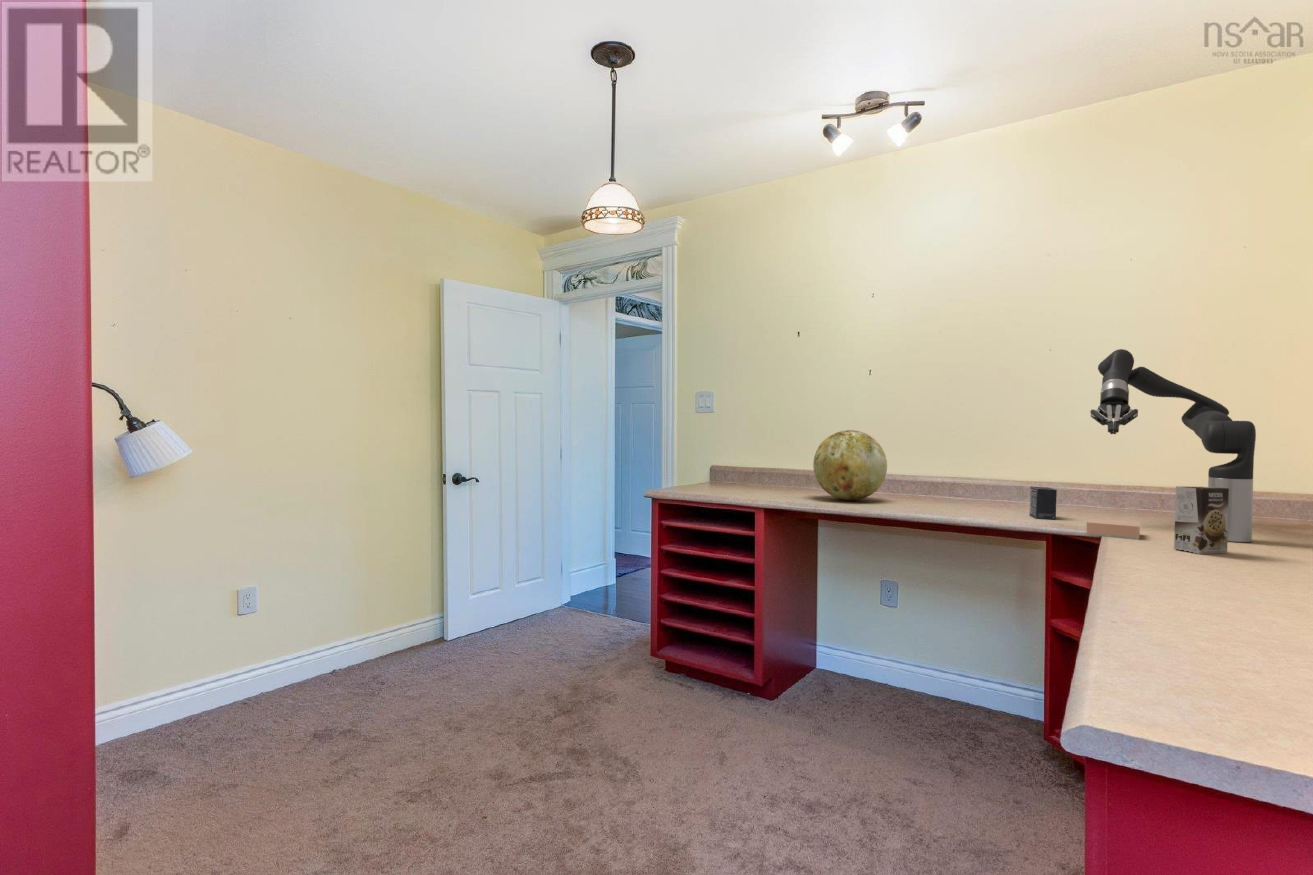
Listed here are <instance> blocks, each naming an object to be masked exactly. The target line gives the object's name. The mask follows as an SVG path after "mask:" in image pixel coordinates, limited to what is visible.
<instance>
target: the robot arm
mask: <svg viewBox="0 0 1313 875" xmlns="http://www.w3.org/2000/svg"><path fill="white" fill-rule="evenodd" d="M1134 365H1135V358H1134V356H1133V354H1132V353H1131V352H1130V351H1129V350H1127V349H1123V348H1120V349H1119V348H1118V349H1116V350H1114V351H1112V352H1111V353H1110V354H1109V355H1108V356H1107V357H1105V358H1104V359H1103V360H1101V362H1100V363H1099V364H1098V365H1097V370H1098V372H1099V374H1101V376H1102V380H1101V388H1100V397H1099V398H1100V399H1099V406H1098V407H1097V408H1096V409H1090V418H1092V419H1093V420H1095V421H1096V422H1097V423H1098V424H1100V425H1101V426H1107V432H1108V433H1110V435H1117V433H1119V432H1120V426H1126V425H1127V424H1129V423H1130V422H1132V421H1133V420H1135V419H1136V418H1137V417H1138V416H1139V409H1137V408H1134V409H1132V408H1131V406H1130V404H1129V401H1130V400H1129V398H1130V397H1129V396H1130V390H1129V386H1132V387H1133V388H1135V389H1136V390H1138V391H1140V392H1142V393H1144V394H1146V395H1149V396H1151V397H1155V398H1176V399H1185V400H1188V401H1191V402H1194V403H1193V404H1192V405H1191V406H1190V407H1189V408H1188V409H1187V410H1186V411H1185V412H1184V413H1183V414H1182V416H1181V422H1182V423H1183V425H1185V427H1187V428H1188V429H1190V430H1192V431H1193V432H1194V434H1195V435H1196V436H1197V437H1198V438H1199V439H1200V440H1201V442H1202V443H1201V444H1202V445H1203V447H1204V449H1205V450H1206V451H1207V452H1209V453H1211V454H1222V455H1223V454H1226V455H1227V454H1228V455H1230V454H1231V455H1234V454H1235V455H1237V456H1236V458H1234V459H1233V460H1230V461H1228V462H1227V463H1223V464H1219V465H1214V466H1211V467H1210V468H1208V471H1207V472H1208V474H1207V476H1208V480H1207V481H1208V482H1207V484H1208V485H1207V487H1217V488H1229V502H1228V542H1235V543H1251V542H1252V541H1253V514H1254V513H1253V508H1254V507H1253V505H1254V504H1253V503H1254V499H1253V498H1254V468H1255V467H1254V461H1255V450H1256V438H1257V437H1256V436H1257V432H1256V431H1257V430H1256V425H1255V424H1254V423H1253V422H1252V421H1249V420H1233V419H1232V417H1230V416H1229V415H1230V411H1229V409H1228V408H1227V407H1226V406H1224V405H1223V404H1222V403H1220V402H1218V401H1216V400H1214V399H1212V398H1210V397H1208V396H1206V395H1203V394H1201V393H1200V392H1197V391H1195V390H1192V389H1190V388H1189V387H1186V386H1184V385H1181V384H1178V383H1177V382H1176V383H1175V382H1174V381H1171V380H1170V379H1167V378H1165V377H1163V376H1161V375H1159V374H1158V373H1156V372H1154V371H1152V370H1150V369H1149V368H1147V367H1145V366H1138V367H1136V368H1134ZM1133 368H1134V369H1133ZM1113 419H1114V420H1113Z"/></svg>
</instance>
